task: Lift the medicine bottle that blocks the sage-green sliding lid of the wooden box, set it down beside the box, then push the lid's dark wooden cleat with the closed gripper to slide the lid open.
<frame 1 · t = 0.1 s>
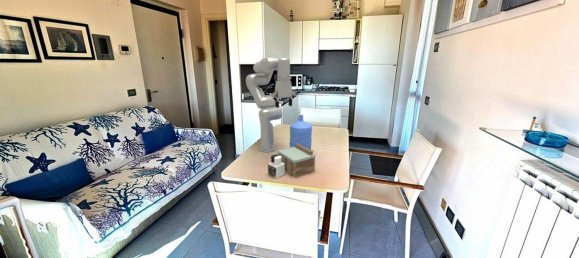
hand: (283, 106, 150), 37 cm above the table, tool pointing down, fingers open, 9 cm apart
wooden box: (295, 168, 148), on the table
water jug: (300, 153, 173), on the table
lid: (296, 152, 145), point 11 cm above the table, slide at 0.0 cm
medicine bottle: (276, 174, 141), on the table
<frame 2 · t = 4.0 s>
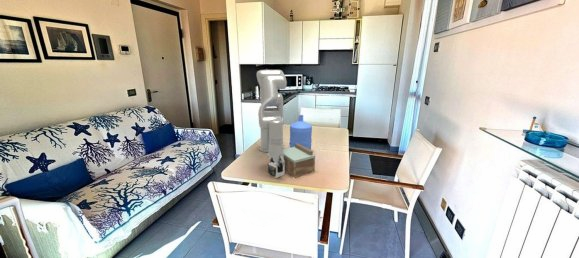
hand: (276, 169, 139), 4 cm above the table, tool pointing down, fingers closed on medicine bottle, 8 cm apart
medicine bottle: (276, 174, 141), on the table, touching gripper
everything else where it was.
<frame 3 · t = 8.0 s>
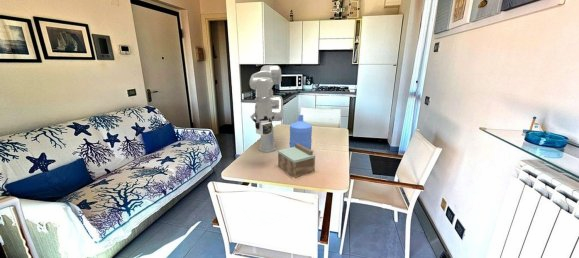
hand: (263, 127, 147), 25 cm above the table, tool pointing down, fingers closed on medicine bottle, 8 cm apart
medicine bottle: (263, 133, 148), point 21 cm above the table, touching gripper
everything else where it was.
when the fingers open (5 cm above the table, at t = 12.1 s): medicine bottle drops 1 cm, on the table.
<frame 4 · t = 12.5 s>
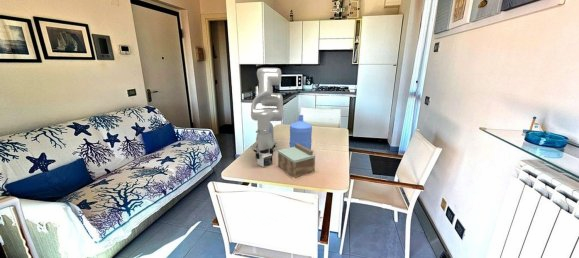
hand: (264, 156, 152), 5 cm above the table, tool pointing down, fingers open, 9 cm apart
medicine bottle: (264, 164, 154), on the table
everything else where it was.
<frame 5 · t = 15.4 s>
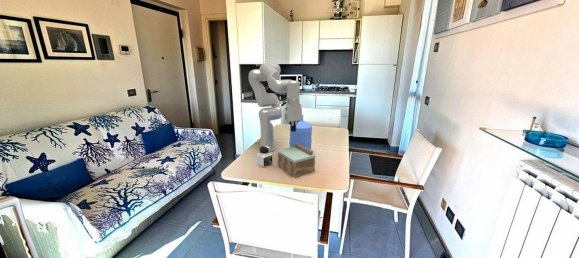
hand: (293, 131, 147), 23 cm above the table, tool pointing down, fingers closed
nothing on the table moved.
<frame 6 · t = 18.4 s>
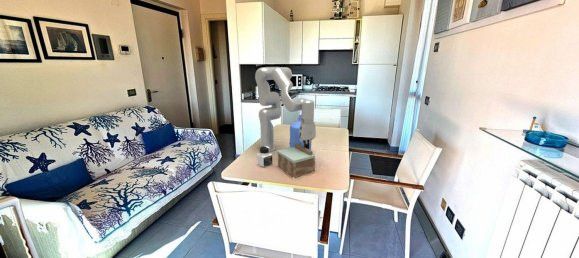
hand: (306, 149, 149), 12 cm above the table, tool pointing down, fingers closed
lid: (295, 152, 144), point 11 cm above the table, slide at 0.3 cm, touching gripper
everything else where it was.
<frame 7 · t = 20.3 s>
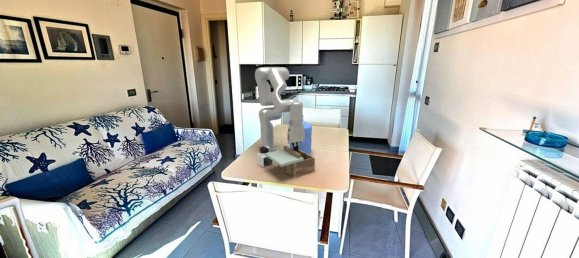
hand: (295, 151, 144), 12 cm above the table, tool pointing down, fingers closed
lid: (284, 155, 140), point 11 cm above the table, slide at 8.7 cm, touching gripper
everything else where it was.
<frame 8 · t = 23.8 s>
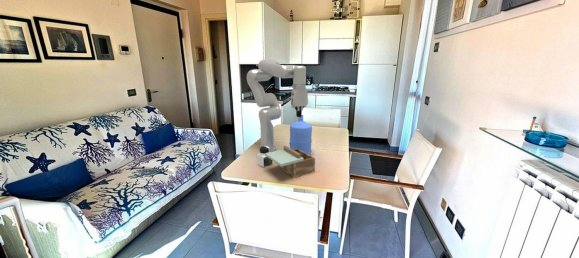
hand: (298, 116, 148), 31 cm above the table, tool pointing down, fingers closed
lid: (283, 155, 140), point 11 cm above the table, slide at 8.8 cm
everything else where it was.
at the end: lid slide at 8.8 cm; medicine bottle inside the target area (0.2 cm from its centre), on the table; medicine bottle tilted 0° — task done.
